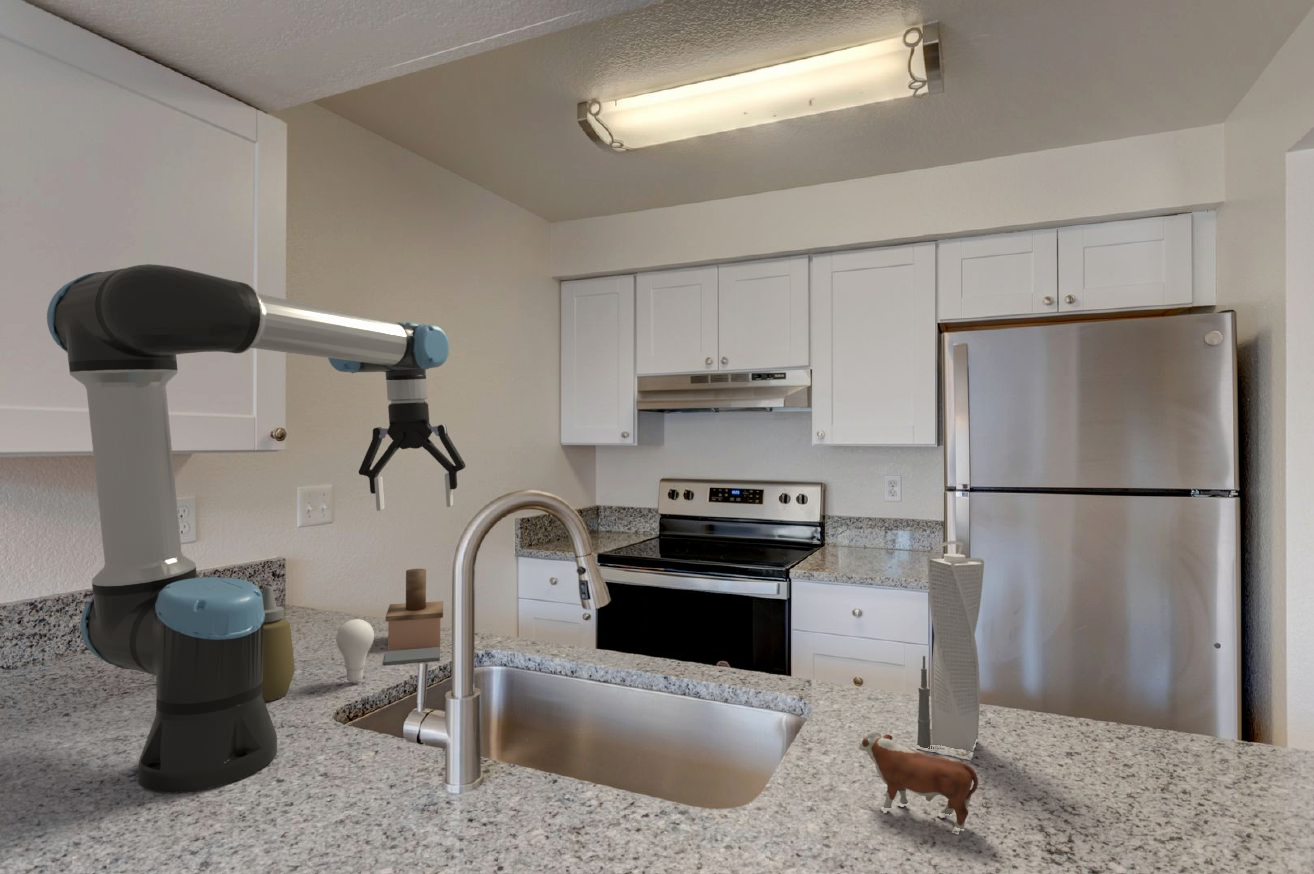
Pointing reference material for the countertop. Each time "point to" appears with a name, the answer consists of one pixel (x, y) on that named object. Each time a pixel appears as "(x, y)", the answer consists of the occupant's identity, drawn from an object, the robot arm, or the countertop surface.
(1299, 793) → the countertop surface
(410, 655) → the mat
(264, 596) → the squeeze bottle
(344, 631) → the lightbulb
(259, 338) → the robot arm
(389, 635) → the pink open box
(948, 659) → the skyscraper
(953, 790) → the bull figurine
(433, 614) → the lid
